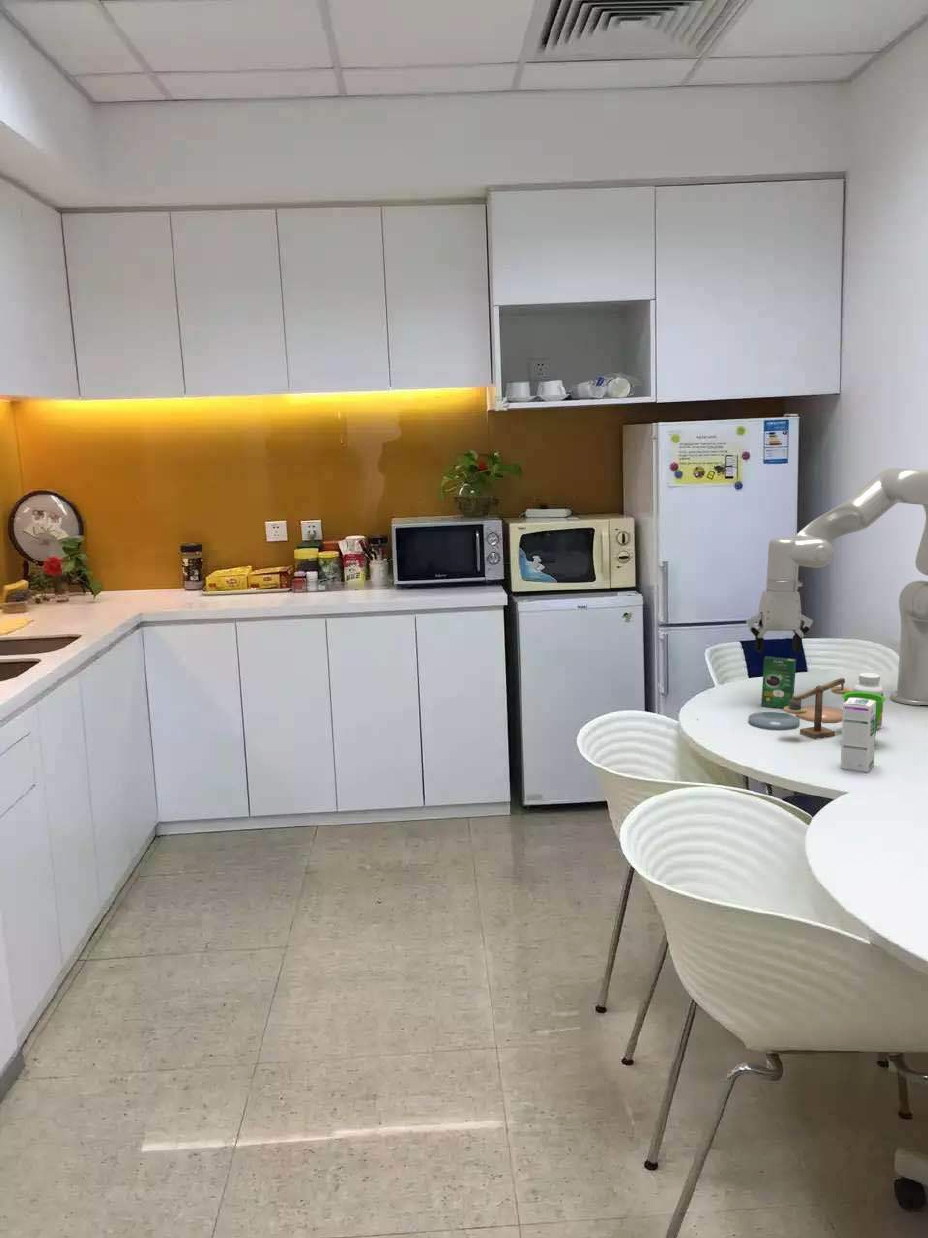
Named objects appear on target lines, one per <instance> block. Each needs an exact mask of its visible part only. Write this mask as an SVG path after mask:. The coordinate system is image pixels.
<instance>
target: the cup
mask: <svg viewBox="0 0 928 1238" xmlns="http://www.w3.org/2000/svg"><path fill="white" fill-rule="evenodd" d="M841 697H842V699H844V700H843V702H844V703H845V701H847V700H848V699H849V697H850V698H865V699H871V700H875V701H876V719H875V736H876V734H877V730H878V729H877V726H878V722H879V717H880V713H881V709H882V704H883V705H884V702H885V701H886V698H885V697H884V695H883V696H881V695H878V694H874V693H868V692H849V693H845V694H842V696H841Z"/></svg>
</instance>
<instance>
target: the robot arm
mask: <svg viewBox="0 0 928 1238" xmlns="http://www.w3.org/2000/svg"><path fill="white" fill-rule="evenodd" d="M898 503H899V504H907V505H908V504H910V505H920V506H921V505H922V508H923V509H924V513H925V523H924V526H923V527H924V528H923V531H922V535H921V537H920V538H921V539H920V541H919V546H918V548H917V553H916V556H915V567H916V569H917V570H918V572H920V573H921V574H922V575H925V576H926V577H927V576H928V470H925V469H914V468H901V467H899V468H898V467H890V468H889V467H888V468H887V469H884V470H882V471H880V472H879V473H878V474H877V475H876V476H874V477H873V478H871V480H870V481H868V482H867V483H866V484H865V485H864V486H863V487H861V488H860V489H859V490H858V491H857V492H856V493H854V494H853V495H852V496H851V497H849V498H848V499H847V500H846V501H845V502H843V503H841V504H839V505H837V506H836V507H834V508H832V509H830V510H829V511H827V512H825V513H824V514H821V515H820V516H818V517H816V518H814V520H812V521H811V522H809V523H808V524H806V526H805V527H803V528H802V529H801V530H799V532H797V533H796V534H795V535H794V536H793V537H787V536H785V537H781V536H780V537H773V538H771V539H770V540H769V542H768V553H767V566H766V567H767V570H766V586H765V587H766V588H765V590H762V592H761V596H760V599H759V605H758V606H759V607H758V610H757V611H758V612H757V614H756V615H754V616H752V617H751V618H748V619H746V621H745V623H746V626H747V627H748V628H749V629H748V630H749V632H751V633H752V635H753V636H754V637H755V641H754V649H755V652H757V653H759V654H764V649H765V638H764V636H765V634H766V633H767V632H783V631H785V632H787V631H791V632H792V633H793V634H794V635H793V636H792V640H791V641H792V642H791V643H792V645H791V651H793V652H795V653H797V654H799V653H801V652H800V651H801V649H802V641H803V639H802V638H804V637H805V635H806V634H807V633H808V632H809V631H810V628H811V626H812V624H813V623H814V619H811V618H809V617H807V616H806V615H804V614H802V604H801V597H800V592H799V591H798V590H799V588H800V587H801V588H802V587H803V582H802V581H799V568H800V567H807V568H815V569H816V568H817V569H818V568H823V567H824V568H825V567H827V566H828V565H829V564H830V563H831V562H832V561H833V560H834V556H835V548H834V546H833V545H832V543H831V542H832V541H834V540H836V539H838V538H840V537H843V536H845V535H848V534H852V533H853V534H854V533H857V532H860V531H862V530H865V529H867V528H869V527H870V526H871V525H873V524H874V523H875V522H876V521H877V520H878V519H880V518H881V517H882V516H883V515H884V514H885V513H887V512H888V511H889V510H890V509H892V508H893V507H894V506H895V505H896V504H898ZM898 597H899V599H898V607H899V615H900V642H899V643H900V644H899V655H898V656H899V659H898V672H897V673H898V675H897V676H898V678H897V690H895V691H892V692H891V693H890V699H891V700H893V701H895V702H897V703H900V704H904V705H905V704H906V705H912V706H920V705H928V580H927V581H926V580H914V581H911V582H910V583H907V584H906V585H905V586H904V587H903V588H902V589H901V591H900V593H899V596H898ZM802 621H803V622H804V624H803V625H802ZM755 623H757V624H756V625H757V627H758V628H756V627H755ZM801 625H802V627H801Z"/></svg>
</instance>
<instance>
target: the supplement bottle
mask: <svg viewBox="0 0 928 1238" xmlns="http://www.w3.org/2000/svg"><path fill="white" fill-rule="evenodd" d="M858 681H859V682H858V683H857V684H856V685H854V687H853V690H854V692H868V693H874V694H878V695H881V696H883V697H884V689H883V687H882V686H881V685H880V684H879V683H880V681H881V675H880V674H878V673H872V672H863V673H862V672H861V673H859V675H858ZM883 705H884V703H883V704H882V709H881V713H880V717H879V722H878V726H877V730H880V729H881V728H882V727H883V726H882V724H883V707H884V706H883Z"/></svg>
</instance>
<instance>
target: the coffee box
mask: <svg viewBox="0 0 928 1238" xmlns="http://www.w3.org/2000/svg"><path fill="white" fill-rule="evenodd" d="M796 667H797V659H796V658H786V657H779V656H778V657H775V656H767V655H765V656H764V657H763V671H762V673H763V674H762V687H761V691H762V692H761V707H767V708H775V709H777V708H778V709H783V710H784V707H785V706H789V701H790V699H793V697H794V696H795V684H796V682H795V681H796V671H797V670H796V669H797V668H796Z"/></svg>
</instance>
